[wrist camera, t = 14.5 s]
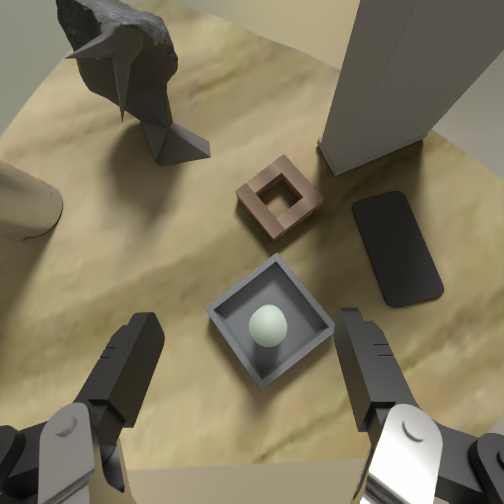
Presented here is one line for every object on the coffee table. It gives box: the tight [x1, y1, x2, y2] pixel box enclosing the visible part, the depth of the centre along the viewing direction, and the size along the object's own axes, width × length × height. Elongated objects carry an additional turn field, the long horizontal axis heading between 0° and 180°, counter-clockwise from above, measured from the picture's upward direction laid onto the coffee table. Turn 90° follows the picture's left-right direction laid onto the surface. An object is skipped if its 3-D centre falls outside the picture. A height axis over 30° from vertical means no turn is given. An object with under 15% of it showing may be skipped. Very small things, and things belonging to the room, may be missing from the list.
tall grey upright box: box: [317, 0, 504, 176], centre depth 24 cm, size 14×6×25 cm, turn 112°
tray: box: [205, 253, 335, 390], centre depth 31 cm, size 12×12×4 cm
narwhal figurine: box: [56, 0, 211, 166], centre depth 32 cm, size 14×15×18 cm
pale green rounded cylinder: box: [249, 303, 287, 347], centre depth 27 cm, size 4×4×10 cm
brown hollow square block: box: [235, 154, 325, 242], centre depth 35 cm, size 9×9×2 cm
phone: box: [352, 191, 444, 307], centre depth 33 cm, size 7×1×15 cm
